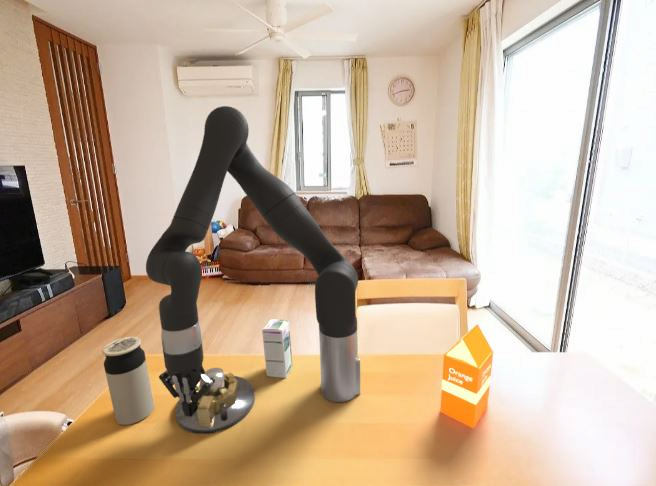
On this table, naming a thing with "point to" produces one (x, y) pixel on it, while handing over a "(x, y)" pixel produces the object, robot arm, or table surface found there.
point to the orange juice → (467, 378)
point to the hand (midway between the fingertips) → (190, 413)
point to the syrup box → (277, 348)
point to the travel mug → (128, 380)
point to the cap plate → (226, 415)
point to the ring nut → (217, 401)
